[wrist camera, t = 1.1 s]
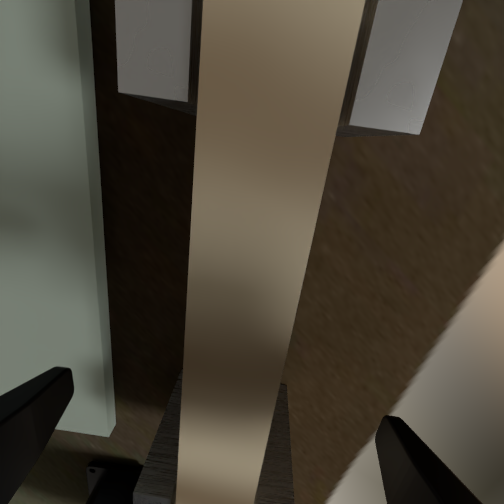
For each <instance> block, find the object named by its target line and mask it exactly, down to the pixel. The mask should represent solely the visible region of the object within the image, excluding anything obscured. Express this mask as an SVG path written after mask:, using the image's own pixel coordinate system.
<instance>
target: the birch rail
mask: <svg viewBox="0 0 504 504" xmlns="http://www.w3.org/2000/svg"><path fill="white" fill-rule="evenodd" d="M364 5H365V0H203V12H202V30H201V49H200V67H199V85H198V103H197V122H196V140H195V158H194V177H193V195H192V213H191V232H190V250H189V268H188V287H187V305H186V323H185V342H184V360H183V378H182V397H181V415H180V433H179V452H178V470H177V488H176V504H254V499H255V495H256V490H257V486H258V481H259V477H260V472H261V468H262V463H263V459H264V454H265V450H266V445H267V441H268V436H269V432H270V427H271V423H272V418H273V414H274V409H275V405H276V400H277V396H278V391H279V387H280V382H281V378H282V373H283V369H284V364H285V360H286V355H287V351H288V346H289V342H290V337H291V333H292V328H293V324H294V319H295V315H296V310H297V306H298V301H299V297H300V292H301V288H302V283H303V279H304V274H305V270H306V265H307V261H308V256H309V252H310V247H311V243H312V238H313V234H314V229H315V225H316V220H317V216H318V211H319V207H320V202H321V198H322V193H323V189H324V184H325V180H326V175H327V171H328V166H329V162H330V158H331V153H332V149H333V144H334V140H335V135H336V131H337V126H338V122H339V117H340V113H341V108H342V104H343V99H344V95H345V90H346V86H347V81H348V77H349V72H350V68H351V63H352V59H353V54H354V50H355V45H356V41H357V36H358V32H359V27H360V23H361V18H362V14H363V9H364Z"/></svg>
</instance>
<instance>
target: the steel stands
mask: <svg viewBox="0 0 504 504" xmlns="http://www.w3.org/2000/svg"><path fill="white" fill-rule="evenodd" d="M462 1H463V0H365V5H364V9H363V14H362V18H361V23H360V27H359V32H358V36H357V41H356V45H355V50H354V54H353V59H352V63H351V68H350V72H349V77H348V81H347V86H346V90H345V95H344V99H343V104H342V108H341V113H340V117H339V122H338V126H337V131H336V135H335V136H342V137H359V136H393V135H419V134H420V131H421V128H422V125H423V122H424V119H425V116H426V113H427V110H428V106H429V103H430V100H431V97H432V94H433V91H434V88H435V85H436V82H437V79H438V76H439V72H440V69H441V66H442V63H443V60H444V57H445V54H446V51H447V48H448V45H449V41H450V38H451V35H452V32H453V29H454V26H455V23H456V20H457V17H458V14H459V11H460V7H461V4H462ZM202 12H203V0H115V16H116V43H117V71H118V92H119V93H123V94H126V95H129V96H132V97H136V98H139V99H142V100H145V101H149V102H152V103H155V104H158V105H162V106H165V107H168V108H171V109H175V110H178V111H181V112H184V113H188V114H191V115H194V116H197V103H198V85H199V67H200V49H201V30H202ZM182 378H183V370H181V371H180V374H179V376H178V379H177V382H176V384H175V387H174V389H173V392H172V394H171V397H170V400H169V402H168V405H167V407H166V410H165V412H164V415H163V418H162V420H161V423H160V425H159V428H158V430H157V433H156V435H155V438H154V441H153V443H152V446H151V448H150V451H149V453H148V456H147V459H146V461H145V464H144V466H143V469H142V471H141V474H140V477H139V479H138V482H137V484H136V487H135V489H134V492H133V504H176V488H177V470H178V452H179V433H180V415H181V397H182ZM254 504H294V488H293V473H292V457H291V442H290V426H289V411H288V395H287V385H282V384H280V387H279V391H278V396H277V400H276V405H275V409H274V414H273V418H272V423H271V427H270V432H269V436H268V441H267V445H266V450H265V454H264V459H263V463H262V468H261V472H260V477H259V481H258V486H257V490H256V495H255V499H254Z"/></svg>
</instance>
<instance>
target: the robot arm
mask: <svg viewBox="0 0 504 504" xmlns="http://www.w3.org/2000/svg"><path fill="white" fill-rule="evenodd" d="M73 394H74V382H73V374H72V370H71V369H70V368H67V367H61V366H56V367H53V368H51V369H49V370H47V371H45V372H43V373H42V374H40V375H38V376H36V377H34V378H32V379H30V380H29V381H27V382H25V383H23V384H21V385H19V386H17V387H16V388H14V389H12V390H10V391H8V392H6V393H4V394H3V395H1V396H0V504H8V503H9V501H10V500H11V498H12V497H13V495H14V494H15V492H16V491H17V490H18V488H19V487H20V485H21V484H22V482H23V481H24V479H25V478H26V476H27V475H28V473H29V472H30V470H31V469H32V467H33V466H34V464H35V462H36V461H37V459H38V458H39V456H40V455H41V453H42V451H43V450H44V448H45V446H46V444H47V442H48V441H49V439H50V437H51V435H52V433H53V432H54V430H55V428H56V426H57V424H58V423H59V421H60V419H61V417H62V415H63V413H64V412H65V410H66V408H67V406H68V404H69V403H70V401H71V399H72V397H73ZM375 443H376V449H377V454H378V459H379V464H380V469H381V475H382V480H383V485H384V490H385V495H386V500H387V504H482V502H481V501H480V500H479V499H478V498H477V497H476V496H475V495H474V494H473V493H472V492H471V491H470V490H469V489H468V488H467V487H466V486H465V485H464V484H463V483H462V482H461V481H460V480H459V478H458V477H457V476H456V475H455V474H454V473H453V472H452V471H451V470H450V469H449V468H448V467H447V466H446V465H445V464H444V463H443V462H442V461H441V460H440V459H439V458H438V457H437V455H436V454H435V453H434V452H433V451H432V450H431V449H430V448H429V447H428V446H427V445H426V444H425V443H424V442H423V441H422V440H421V439H420V438H419V437H418V436H417V435H416V434H415V432H414V431H413V430H412V429H411V428H410V427H409V426H408V425H407V424H406V423H405V422H404V421H403V420H402V419H401V418H399V417H395V416H389V415H385V416H384V417H383V418H382V421H381V423H380V426H379V428H378V430H377V433H376V437H375ZM142 469H143V468H136V467H130V466H123V465H117V464H110V463H104V462H97V461H91V462H90V463H89V464H88V466H87V468H86V474H87V482H88V490H89V498H88V500H87V502H86V504H133V492H134V489H135V487H136V484H137V482H138V479H139V477H140V474H141V471H142Z"/></svg>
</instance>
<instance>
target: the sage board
mask: <svg viewBox="0 0 504 504" xmlns="http://www.w3.org/2000/svg"><path fill="white" fill-rule="evenodd" d="M56 366H61V367H67V368H70V369H71V370H72V374H73V382H74V394H73V397H72V399H71V401H70V403H69V404H68V406H67V408H66V410H65V412H64V413H63V415H62V417H61V419H60V421H59V423H58V424H57V426H56V428H55V429H59V430H66V431H72V432H79V433H85V434H92V435H99V436H105V437H109V436H110V434H111V432H112V430H113V428H114V427H115V425H116V416H115V400H114V384H113V368H112V353H111V337H110V321H109V305H108V289H107V273H106V258H105V242H104V226H103V210H102V194H101V178H100V163H99V147H98V131H97V115H96V99H95V84H94V68H93V52H92V36H91V20H90V4H89V0H0V396H1V395H3V394H4V393H6V392H8V391H10V390H12V389H14V388H16V387H17V386H19V385H21V384H23V383H25V382H27V381H29V380H30V379H32V378H34V377H36V376H38V375H40V374H42V373H43V372H45V371H47V370H49V369H51V368H53V367H56Z"/></svg>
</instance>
